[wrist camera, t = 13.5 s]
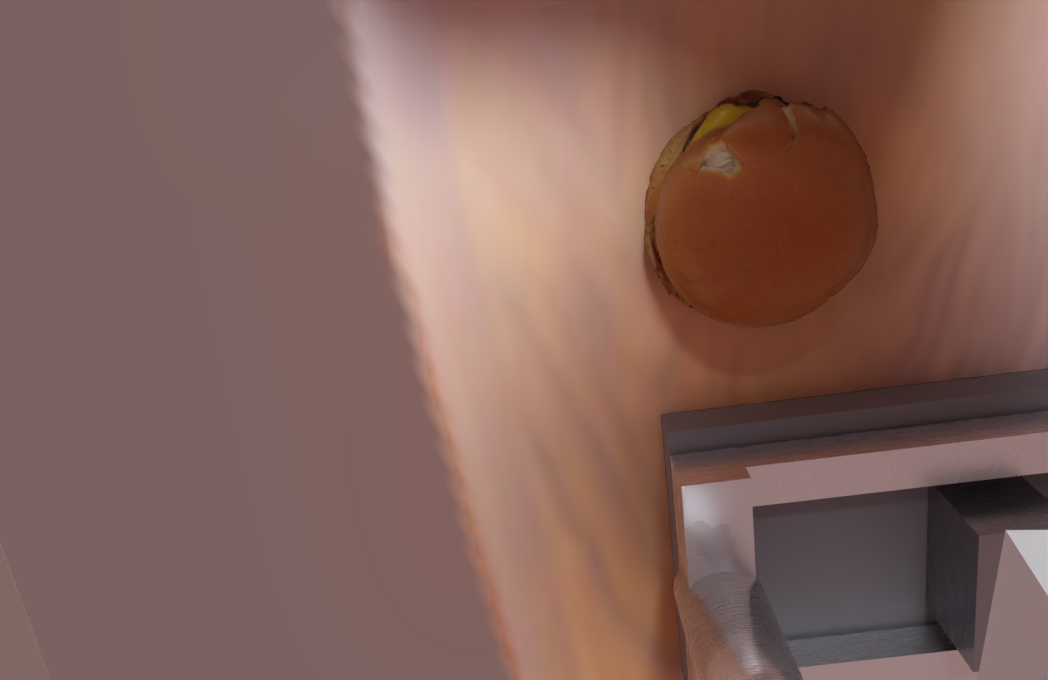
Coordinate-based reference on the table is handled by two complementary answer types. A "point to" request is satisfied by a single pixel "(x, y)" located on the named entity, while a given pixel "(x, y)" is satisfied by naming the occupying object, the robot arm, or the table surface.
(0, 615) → the robot arm
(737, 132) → the burger
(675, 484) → the press ram
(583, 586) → the table surface
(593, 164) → the table surface
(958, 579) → the grey rectangular block
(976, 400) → the press bench
